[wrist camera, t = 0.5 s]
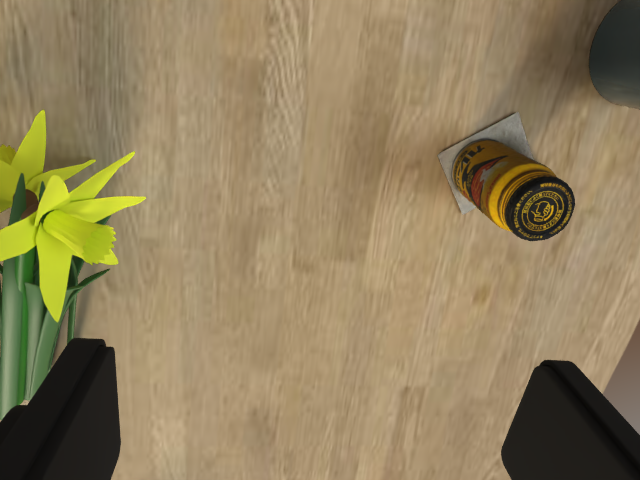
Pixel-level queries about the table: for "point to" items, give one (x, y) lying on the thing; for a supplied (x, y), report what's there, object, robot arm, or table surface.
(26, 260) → the daffodil flowers
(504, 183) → the yellow coffee bottle
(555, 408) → the robot arm
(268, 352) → the table surface
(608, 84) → the blue jar
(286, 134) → the table surface
